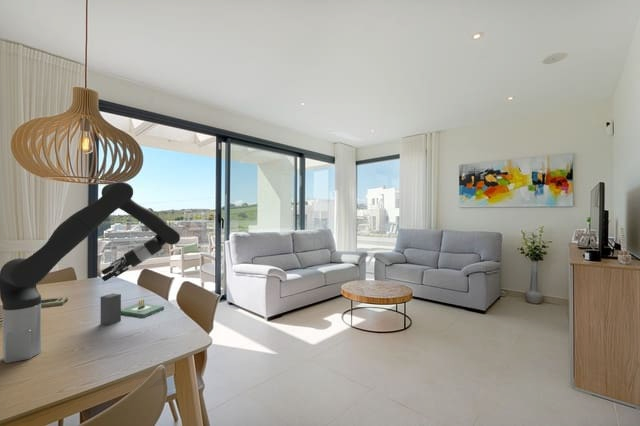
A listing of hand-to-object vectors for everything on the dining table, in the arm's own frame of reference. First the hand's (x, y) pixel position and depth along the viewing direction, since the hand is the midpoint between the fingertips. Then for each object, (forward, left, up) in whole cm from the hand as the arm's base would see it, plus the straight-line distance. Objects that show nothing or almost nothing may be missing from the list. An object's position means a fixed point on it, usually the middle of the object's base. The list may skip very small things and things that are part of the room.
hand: (102, 276), depth 133 cm
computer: (+39, +26, -21) cm, 51 cm away
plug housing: (-6, -3, -20) cm, 21 cm away
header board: (+3, -15, -20) cm, 25 cm away
